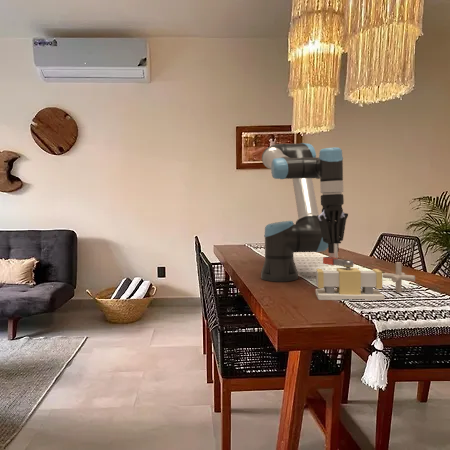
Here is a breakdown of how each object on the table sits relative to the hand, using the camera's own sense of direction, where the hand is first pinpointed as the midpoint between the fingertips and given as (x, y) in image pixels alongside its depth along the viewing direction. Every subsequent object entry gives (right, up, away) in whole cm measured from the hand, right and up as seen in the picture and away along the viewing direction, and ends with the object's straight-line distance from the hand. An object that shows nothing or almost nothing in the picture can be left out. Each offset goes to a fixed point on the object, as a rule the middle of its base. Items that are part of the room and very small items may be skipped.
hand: (333, 262), depth 130 cm
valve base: (+3, -11, -7) cm, 13 cm away
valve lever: (0, -1, -4) cm, 4 cm away
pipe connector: (+22, -10, -2) cm, 24 cm away
